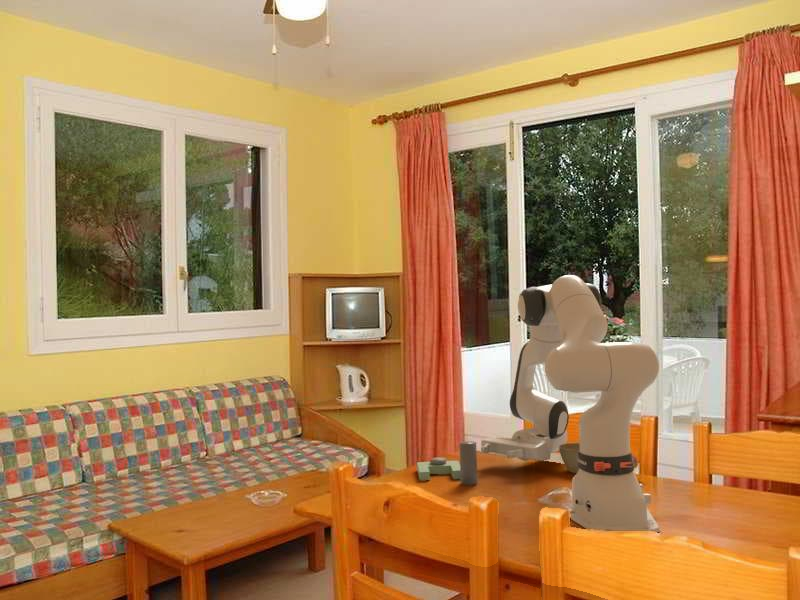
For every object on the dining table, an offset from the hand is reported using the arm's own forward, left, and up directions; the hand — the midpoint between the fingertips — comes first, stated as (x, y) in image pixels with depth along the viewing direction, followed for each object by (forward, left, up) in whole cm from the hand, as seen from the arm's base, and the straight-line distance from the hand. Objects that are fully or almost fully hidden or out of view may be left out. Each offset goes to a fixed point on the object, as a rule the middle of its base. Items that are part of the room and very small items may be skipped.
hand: (495, 452), depth 202 cm
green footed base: (+4, +16, -7) cm, 17 cm away
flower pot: (+1, -23, -7) cm, 24 cm away
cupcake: (-9, -32, -7) cm, 34 cm away
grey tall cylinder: (-7, +9, -7) cm, 13 cm away
